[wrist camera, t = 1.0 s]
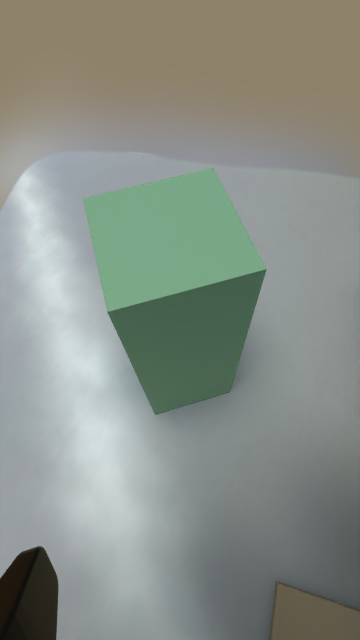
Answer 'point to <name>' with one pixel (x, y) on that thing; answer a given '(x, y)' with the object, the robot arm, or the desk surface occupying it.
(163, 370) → the tall green square pillar
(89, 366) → the desk surface
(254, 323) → the desk surface
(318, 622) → the lid
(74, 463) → the desk surface
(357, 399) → the desk surface
